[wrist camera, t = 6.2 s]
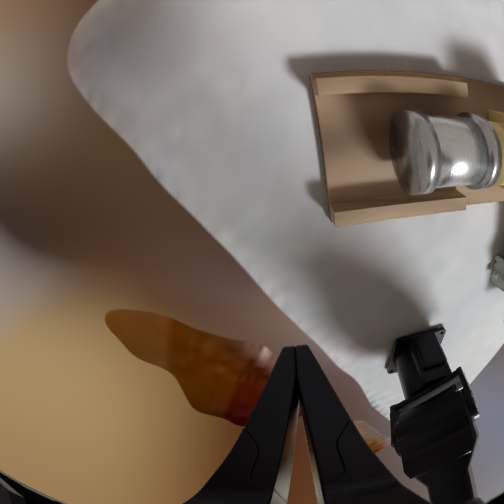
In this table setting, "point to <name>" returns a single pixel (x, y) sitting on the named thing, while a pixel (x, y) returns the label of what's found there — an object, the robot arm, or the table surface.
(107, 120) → the table surface
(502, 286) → the metal bracket
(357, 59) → the table surface
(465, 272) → the table surface
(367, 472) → the robot arm
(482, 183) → the cylinder
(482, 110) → the wooden channel tray
